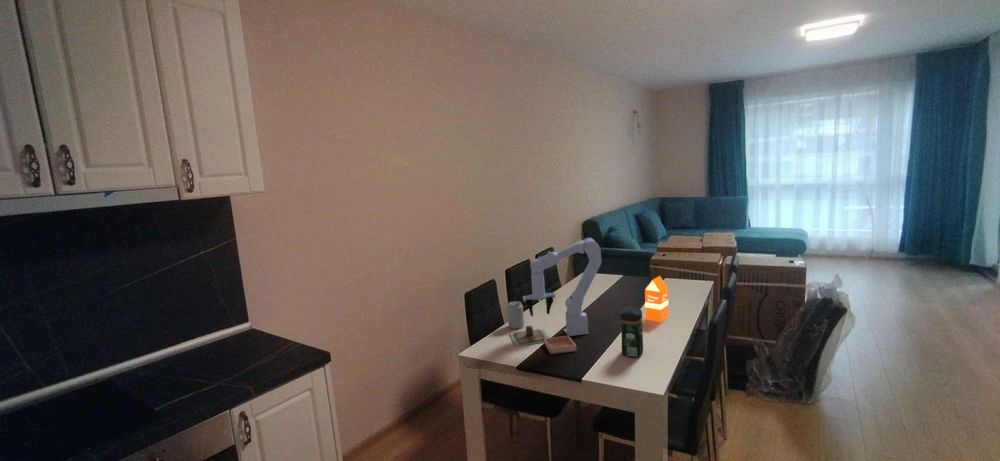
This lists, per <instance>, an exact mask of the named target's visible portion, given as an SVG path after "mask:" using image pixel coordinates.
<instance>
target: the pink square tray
mask: <svg viewBox="0 0 1000 461" xmlns="http://www.w3.org/2000/svg"><path fill="white" fill-rule="evenodd" d="M544 344H545V345H544ZM543 345H544V346H545V348H546V350H547V351H548V352H549V354H550V355H557V354H562V353H563V354H565V353H572V352H577V344H576V343H575V342H574V341H573V339H572V338H571V336H568V335H562V336H555V337H554V336H553V337H549V338H545V339H544V343H543Z"/></svg>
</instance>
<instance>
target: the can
mask: <svg viewBox="0 0 1000 461" xmlns="http://www.w3.org/2000/svg"><path fill="white" fill-rule="evenodd" d="M507 317H508V318H507V319H508V320H507V321H508V327H510V328H511V329H513V330H515V329H516V330H519V329H522V328H524V326H525V316H524V305H523V304H522V302H521V301H520V300H519V301H518V300H517V301H516V300H515V301H513V300H512V301H510V302H509V303H508V305H507Z"/></svg>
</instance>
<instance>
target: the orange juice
mask: <svg viewBox="0 0 1000 461" xmlns="http://www.w3.org/2000/svg"><path fill="white" fill-rule="evenodd" d="M644 308H645V320H647V321H652V322H653V321H654V322H659V323H662V322H663V321H664V320H666V319H667V318H669V287H668V286H667V284H666V283H665V281H664V280H663V278H662V277H661V275H659V276H657V277H655V278H653V279H652V280H651V281H650V282H649V284H648V285H647V286H646V288H645V289H644Z"/></svg>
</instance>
